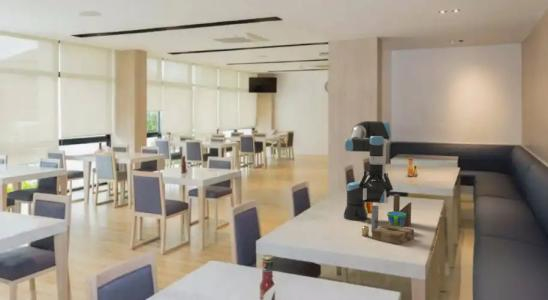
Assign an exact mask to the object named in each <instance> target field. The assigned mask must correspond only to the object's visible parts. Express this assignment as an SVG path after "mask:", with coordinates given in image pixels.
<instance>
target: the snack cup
mask: <svg viewBox="0 0 548 300" xmlns="http://www.w3.org/2000/svg"><path fill="white" fill-rule="evenodd" d="M386 216H387V221H388V225H392V226H398V227H403V228H405V227H404V222H405V217H406V213H403V212H396V211H388V212H387V213H386Z"/></svg>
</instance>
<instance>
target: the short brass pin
mask: <svg viewBox="0 0 548 300" xmlns="http://www.w3.org/2000/svg"><path fill="white" fill-rule="evenodd" d="M369 230H370V226H368V225H367V226H366V225H362V226H361V236H362V237H365V238H366V237H369V234H370V233H369V232H370V231H369Z"/></svg>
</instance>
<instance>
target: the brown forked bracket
mask: <svg viewBox="0 0 548 300" xmlns="http://www.w3.org/2000/svg"><path fill="white" fill-rule="evenodd" d="M400 200H401V195H400V194H397V193H396V194H395V193H394V194H393V206H392V207H393V211H396V212H403V213H406V217H405V222H404V226H406V227H410V226H411V225H412V224H411V223H412V202H408V203H407V204H406V205H405V206H403V208H401V209H400V205H401V204H400V202H401V201H400Z"/></svg>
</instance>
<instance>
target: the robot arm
mask: <svg viewBox="0 0 548 300" xmlns="http://www.w3.org/2000/svg"><path fill="white" fill-rule="evenodd" d="M391 138H392V134H391V125H390V122H389V121H386V120H385V121H383V120H379V121H377V120H375V121H374V120H373V121H370V120H367V121H366V120H365V121H360V122H358V123H356V124H355V125H354V126H353V127H352V128H351V136H350V138H346V139H345V140H344V150H345V151H346V152H351V153H352V152H358V153H359V152H364V153H365V152H367V153H368V152H369V165H368V170H369V171H367V170H366V171H364V172H363V176H362V178H361V181H360V180H359V181H353V182H349V183H347V185H346V207H345V210H344V212H343V218H344V219H346V220H351V221H364V220H367V219H368V211H367V210H366V209H367V208H366V203H372V204H373V203H375V204H388V203H389V197H391V196H390V193H391V191H393V190H394V187H393V185H392V183H391V181H390V177H389V174H388V172H386V167H387V165H386V163H387V162H386V161H387V144H388V143H389V140H391ZM368 176H369V177H368Z"/></svg>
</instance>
